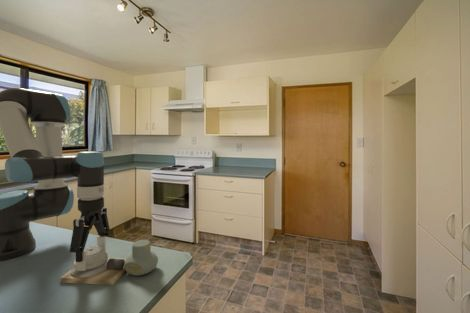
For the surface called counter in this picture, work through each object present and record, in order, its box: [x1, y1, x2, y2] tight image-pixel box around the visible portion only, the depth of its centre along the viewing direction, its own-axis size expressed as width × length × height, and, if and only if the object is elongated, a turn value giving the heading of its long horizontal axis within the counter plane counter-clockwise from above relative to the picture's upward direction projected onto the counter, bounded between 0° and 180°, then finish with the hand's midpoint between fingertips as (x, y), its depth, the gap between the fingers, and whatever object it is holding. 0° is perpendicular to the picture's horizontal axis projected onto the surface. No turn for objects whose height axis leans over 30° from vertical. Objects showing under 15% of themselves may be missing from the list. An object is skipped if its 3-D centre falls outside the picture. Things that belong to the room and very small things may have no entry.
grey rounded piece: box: [124, 239, 159, 277], centre depth 80 cm, size 11×8×10 cm
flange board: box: [59, 257, 127, 286], centre depth 78 cm, size 17×13×5 cm
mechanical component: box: [73, 245, 109, 269], centre depth 78 cm, size 10×4×10 cm
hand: (92, 261), depth 78 cm, fingers closed on mechanical component, 10 cm apart
